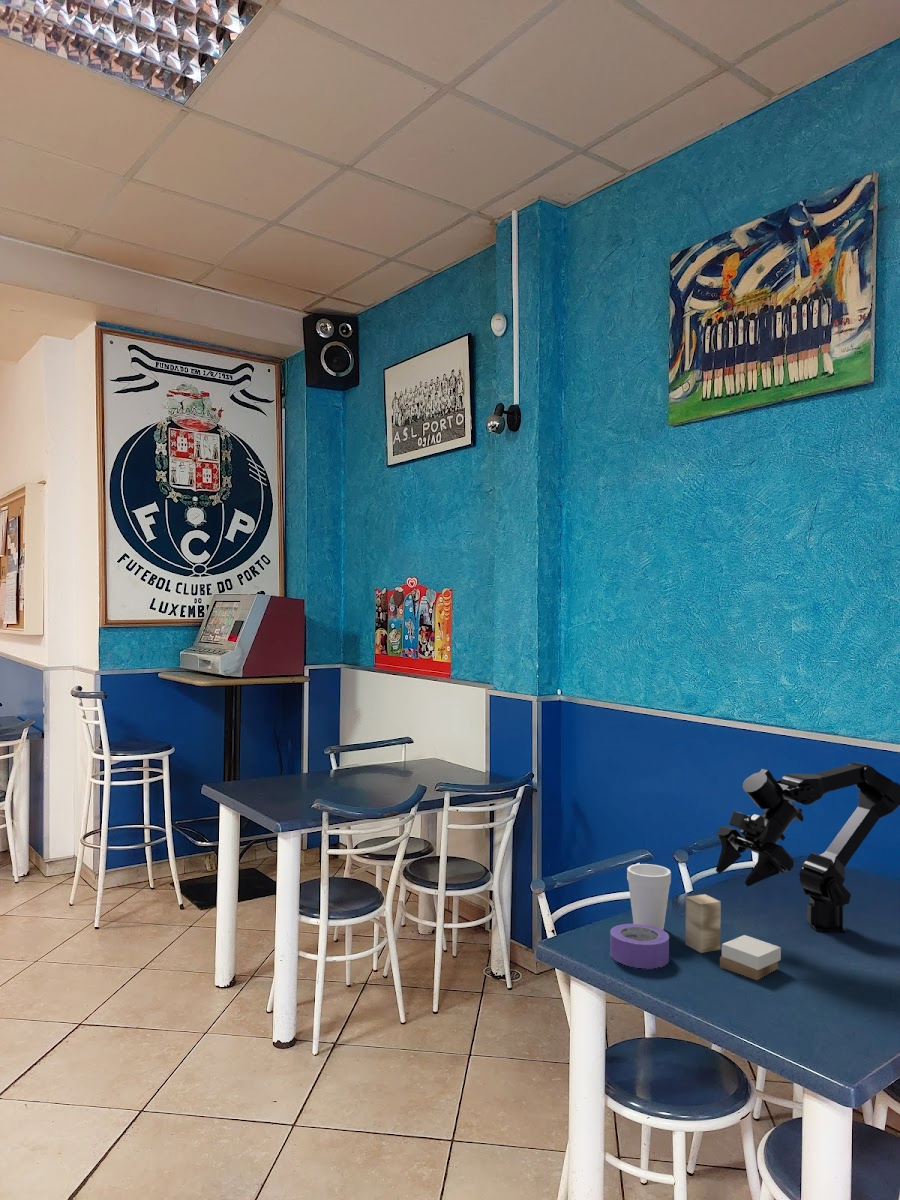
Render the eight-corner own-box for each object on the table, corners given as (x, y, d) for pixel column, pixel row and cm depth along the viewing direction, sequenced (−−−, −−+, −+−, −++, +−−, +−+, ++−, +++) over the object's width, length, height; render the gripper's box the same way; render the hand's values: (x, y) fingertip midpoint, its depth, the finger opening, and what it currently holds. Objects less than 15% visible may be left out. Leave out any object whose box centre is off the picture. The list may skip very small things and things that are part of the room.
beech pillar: (704, 941, 184) (705, 894, 185) (720, 949, 180) (720, 901, 180) (685, 944, 183) (685, 896, 183) (700, 953, 178) (700, 904, 178)
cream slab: (744, 947, 176) (744, 934, 176) (780, 960, 170) (780, 947, 170) (721, 956, 171) (721, 943, 171) (758, 970, 165) (758, 957, 165)
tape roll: (631, 942, 184) (631, 918, 184) (680, 958, 176) (680, 933, 176) (598, 957, 176) (598, 932, 176) (648, 975, 167) (648, 949, 167)
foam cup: (672, 924, 194) (672, 866, 194) (668, 939, 185) (669, 878, 185) (629, 919, 197) (629, 862, 197) (624, 933, 188) (624, 873, 188)
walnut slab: (740, 959, 176) (741, 947, 176) (778, 971, 170) (778, 959, 170) (719, 969, 171) (719, 957, 171) (757, 983, 165) (757, 970, 165)
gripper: (723, 789, 195) (682, 842, 191) (783, 807, 178) (739, 866, 173) (751, 822, 198) (711, 875, 194) (812, 842, 180) (770, 901, 176)
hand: (731, 878), depth 184 cm, fingers open, 9 cm apart
